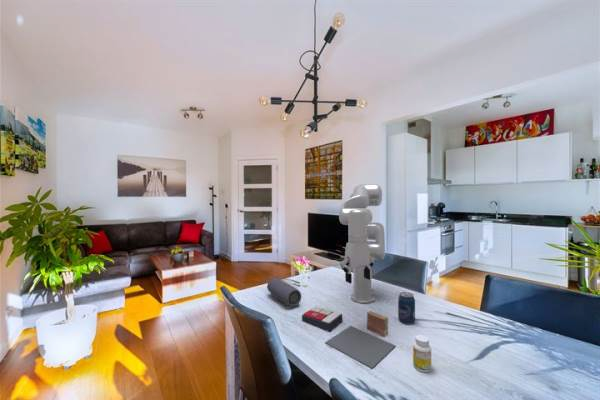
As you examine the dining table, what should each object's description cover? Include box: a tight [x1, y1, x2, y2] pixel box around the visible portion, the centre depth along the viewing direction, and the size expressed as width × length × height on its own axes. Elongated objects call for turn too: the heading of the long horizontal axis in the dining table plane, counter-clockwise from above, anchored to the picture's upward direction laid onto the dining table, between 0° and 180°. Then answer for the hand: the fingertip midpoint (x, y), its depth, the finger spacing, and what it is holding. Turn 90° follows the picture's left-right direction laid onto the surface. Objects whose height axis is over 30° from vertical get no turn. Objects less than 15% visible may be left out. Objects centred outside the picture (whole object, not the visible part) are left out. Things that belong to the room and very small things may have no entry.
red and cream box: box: [301, 305, 343, 333], centre depth 111 cm, size 11×4×15 cm
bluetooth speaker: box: [266, 277, 302, 307], centre depth 133 cm, size 23×9×10 cm, turn 34°
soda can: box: [397, 291, 416, 325], centre depth 110 cm, size 7×7×12 cm
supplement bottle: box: [412, 334, 432, 373], centre depth 81 cm, size 5×5×10 cm
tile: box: [366, 310, 389, 337], centre depth 102 cm, size 3×8×7 cm, turn 44°
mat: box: [325, 325, 397, 370], centre depth 93 cm, size 17×20×1 cm
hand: (358, 280), depth 102 cm, fingers open, 9 cm apart
